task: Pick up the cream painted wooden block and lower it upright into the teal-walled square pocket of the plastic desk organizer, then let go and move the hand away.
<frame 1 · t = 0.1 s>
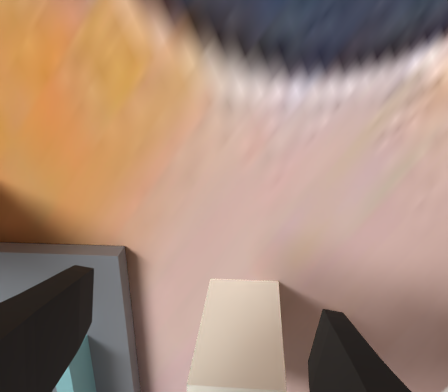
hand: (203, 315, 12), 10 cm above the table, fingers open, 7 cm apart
organizer: (39, 373, 27), on the table
cream block: (244, 308, 24), on the table
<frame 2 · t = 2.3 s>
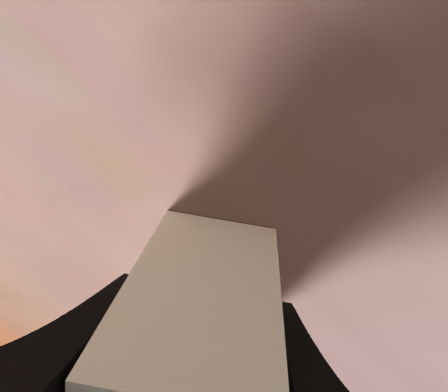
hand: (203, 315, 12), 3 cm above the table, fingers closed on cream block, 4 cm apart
cream block: (213, 267, 15), on the table, touching gripper
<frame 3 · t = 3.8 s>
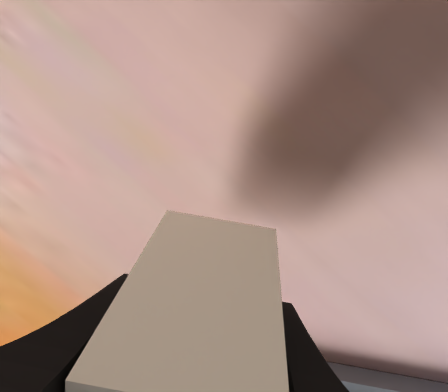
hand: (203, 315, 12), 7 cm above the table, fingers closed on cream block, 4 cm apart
cream block: (213, 267, 15), point 4 cm above the table, touching gripper
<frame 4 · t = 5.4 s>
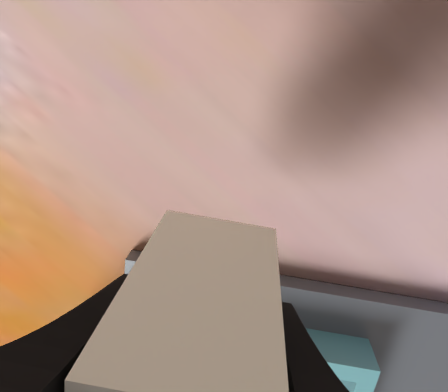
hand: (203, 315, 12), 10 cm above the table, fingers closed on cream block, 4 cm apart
organizer: (276, 370, 26), on the table
cream block: (213, 267, 15), point 7 cm above the table, touching gripper
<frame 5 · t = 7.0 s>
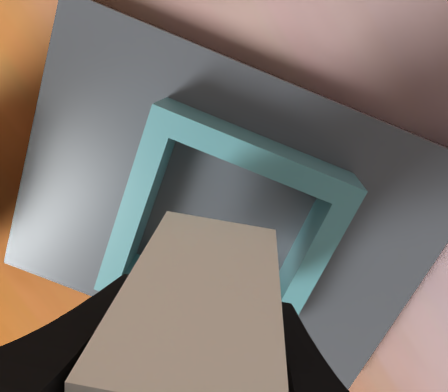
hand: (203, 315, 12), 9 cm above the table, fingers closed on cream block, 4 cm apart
organizer: (226, 211, 20), on the table
cream block: (213, 267, 15), point 6 cm above the table, touching gripper
when the fingers open (5 cm above the table, at t = 8.5 s): cream block stays where it is, resting on organizer.
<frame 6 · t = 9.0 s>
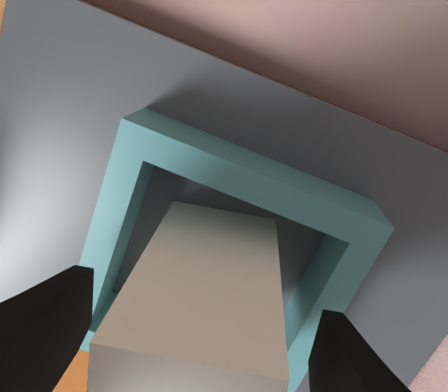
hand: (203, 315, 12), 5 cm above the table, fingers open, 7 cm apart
organizer: (219, 241, 17), on the table
cream block: (216, 255, 16), point 1 cm above the table, touching organizer
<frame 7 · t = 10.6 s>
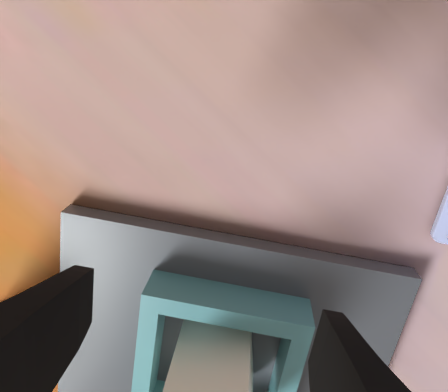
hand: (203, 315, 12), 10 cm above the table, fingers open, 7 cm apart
organizer: (221, 333, 25), on the table
cream block: (219, 347, 24), point 1 cm above the table, touching organizer
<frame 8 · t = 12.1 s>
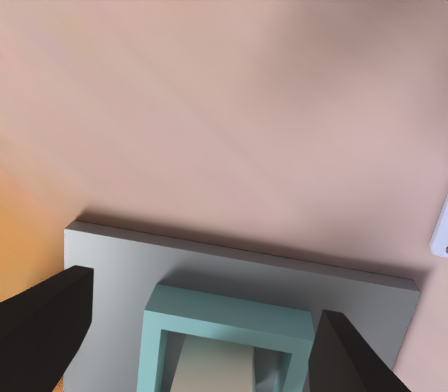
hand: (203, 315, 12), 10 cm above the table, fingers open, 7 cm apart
organizer: (223, 345, 25), on the table
cream block: (221, 359, 24), point 1 cm above the table, touching organizer
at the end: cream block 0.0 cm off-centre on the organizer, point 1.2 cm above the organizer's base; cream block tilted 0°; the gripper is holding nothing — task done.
